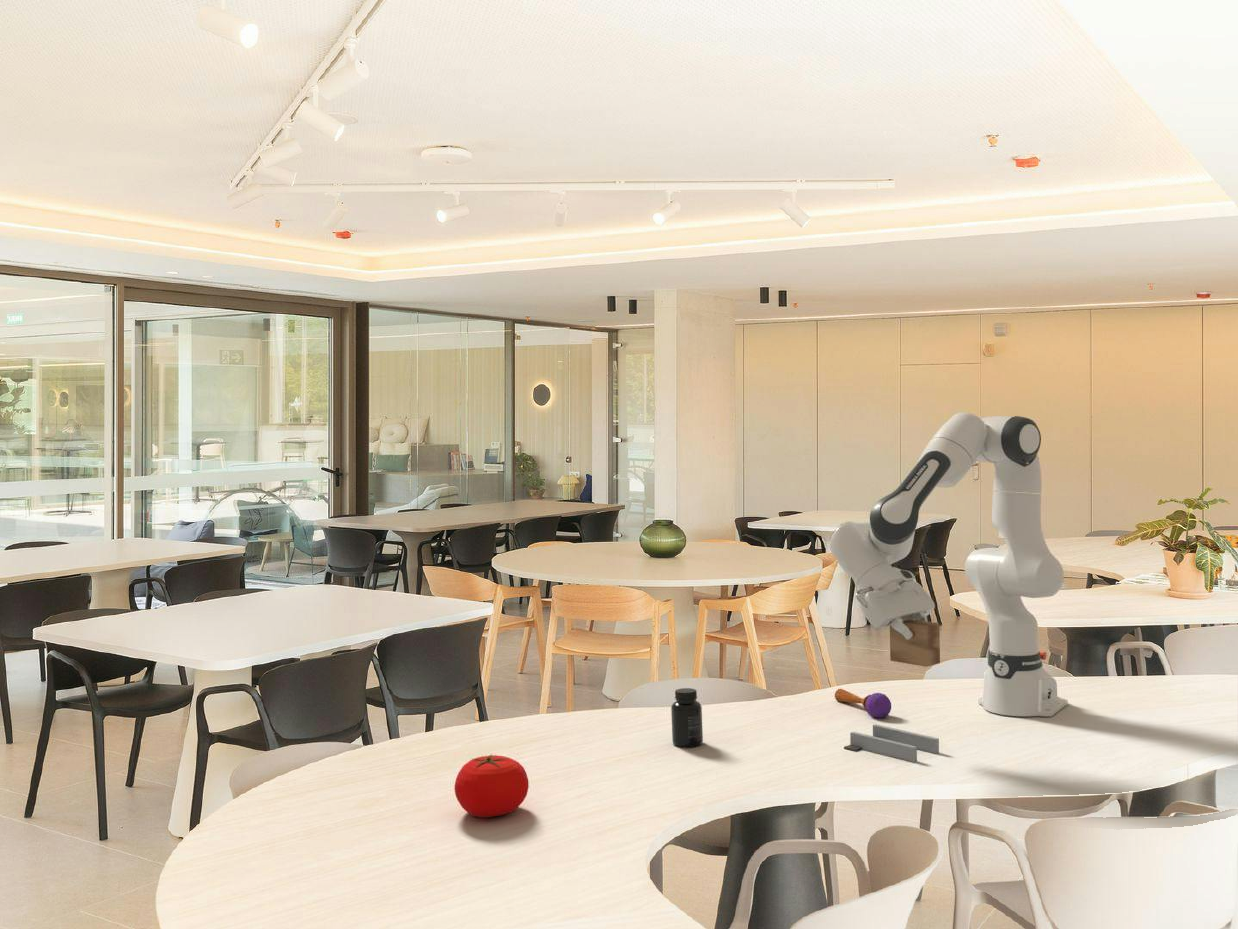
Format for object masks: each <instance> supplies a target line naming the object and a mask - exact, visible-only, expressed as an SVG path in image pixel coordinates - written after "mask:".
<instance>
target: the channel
mask: <svg viewBox="0 0 1238 929" xmlns="http://www.w3.org/2000/svg"><path fill="white" fill-rule="evenodd" d="M849 737H850V738H849V740H850V741H849V742H850V743H849V744H848V745H846V746H843V749H844V750H848V751H852V752H858V751H860V750H864V751H867V752H871V753H874V754H875V753H876V754H879V755H884V756H888V757H891V758H896V759H899V760H904V761H908V762H910V763H911V762H912V763H915V762H918V750H919V751H923V752H928V753H931V754H939V753H940V748H939V747H940V738H938V737H934V736H929V735H924V734H920V733H915V732H911V731H907V730H904V729H903V730H902V729H899V728H893V727H890V726H886V725H882V724H876V723H875V724H873V725H872V735H869V734H865V733H862V732H858V731H851V732H850V733H849Z"/></svg>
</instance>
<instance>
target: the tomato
mask: <svg viewBox="0 0 1238 929" xmlns="http://www.w3.org/2000/svg"><path fill="white" fill-rule="evenodd" d="M453 787H454V795H455V797H456V799H457V801H458V803H459V805H460V806H461V808H462V809H463V810H464V811H465V812H467V813H468V814H469V815H472V816H473V817H474V816H475V817H477V818H478V817H479V818H491V817H492V818H493V817H498V816H499V817H500V816H503V815H507V814H509V813H511V812H513V811H515V810H517V809H518V808H519V807H520V805H521V804H522V803H523V802H524V801H525V799H526V798H527V795H528V792H529V788H530V785H529V777H528V774H527V771H526V770H525V767H524V766H523V765H522V764H521V763H520V762H519V761H517V760H516V759H512V758H510V757H508V756H503V755H495V754H494V755H493V754H490V755H484V756H483V755H482V756H478V757H475V758H471V759H470V760H469V761H467V762H466V763H465V764H464V765H463V766H461V769H460V770H459V771H458V773H457V775H456V778H455V783H454V786H453Z"/></svg>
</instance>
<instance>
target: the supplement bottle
mask: <svg viewBox="0 0 1238 929" xmlns="http://www.w3.org/2000/svg"><path fill="white" fill-rule="evenodd" d="M674 695H675V696H674V699H675V701H674V702H673V703H672V704H671V708H670V709H671V710H670V712H671V735H672V736H671V737H672V744H673V745H674V746H675V745H676V746H675V747H678V746H679V748H695V747H699V746H701V745H702V744H703V742H704V740H703V738H704V737H703V734H704V733H703V732H704V731H703V711H702V710H703V707H702V704H701V702H699V701H697V699H698V695H697V689H695V688H689V687H688V688H687V687H682V688H677V689H676V690H675V691H674Z"/></svg>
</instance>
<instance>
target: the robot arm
mask: <svg viewBox="0 0 1238 929" xmlns="http://www.w3.org/2000/svg"><path fill="white" fill-rule="evenodd" d="M1041 440H1042V435H1041V431H1040V429H1039V427H1038V424H1036V422H1035V421H1034V420H1032V419H1031V418H1028V417H1025V416H1020V415H1016V416H1010V415H1008V416H1007V415H993V416H986V417H979V416H977V415H976V414H973V413H970V412H966V411H965V412H963V411H962V412H958V413H956V414H953V416H951V417H950V418H949V419H948V420H947V421H946V422H944V423H943V424H942V425H941V427H940V428H939V429H938V430H937V431H936V432H935V433H934V435H933V436H932V438H931V439H930V440H929V442H928V443H927V444H926V445H925V447H924V449H923V450H922V453H921V454H920V456H919V458H918V461H917V463H916V465H915V466H914V467H913V468H912V469H911V471H910V472H909V473H908V474H907V476H906V477H905V478H904V479H903V481H902V482H901V483H900V484H899V486H898V487H897V488H896V489H895V490H893V491H892V492H891V493H889V494H888V495H886V496H884V497H882V498H880V499H879V500H878V501H877V502H876V503H875V504H874V505H873V506H872V507H871V509H870V514H869V521H867V522H855V521H851V520H847V521H845V522H842V523H841V524H840V525H839V526H838V527H836V528H835V530H834V531H833V532H832V534H831V536H830V538H829V543H828V544H829V545H828V546H829V549H830V552H831V553H832V555H833V558H835V560H836V561H837V563H838V564H839V566H840V567H841V569H842V570H843V571H844V572H845V574H847V575H848V576H850V577H851V578H852V580H853V583H854V585H855V586H856V588H857V590H856V593H855V598H856V600H857V601H858V605H859V607H860V610H861V612H862V613H863V615H864V616H865V617H866V620H867V621H868V622H869V623H870V625H871V626H873V627H874V628H876V629H881V628H885V627H890V625H891V626H892V627H893V628H894V629H895V630H896V631H898V632H900V633H901V634H903V636H904V637H905V638H906V639H907V640H909V639H912V638H913V637H914V636H915V632H914V631H913V630H912V628H908V627H907V626H906V625H904V624H903V623H902V622H903V621H905V620H909V619H911V620H919V621H926V622H929V621H928V616H929V615H930V614H931V613H932V612H933V610H934V609H935V608H936V604H935V602H934V600H933V599H932V597H931V596H930V595H929V593H928V592H927V591H926V589H924V588H923V586H922V585H921V584H920V583H918V581H915V579H916V576H915V574H913V573H912V572H911V571H910V570H904V569H901V568H898V567H895V566H892V565H893V564H896V563H897V562H900V561H902V560H904V559H905V558H906V557H907V556H909V554H910V552H911V551H912V548H913V544H914V541H915V540H914V539H915V533H916V530H917V529H916V528H917V524H918V521H919V515H920V514H919V513H920V509H921V508H922V506H923V504H924V503H925V502H926V501H927V499H928V498H929V496H931V494H932V492H934V490H935V489H936V487H937V488H942V489H947V488H948V489H949V488H952V487H955V486H956V485H957V484H958V483H959V482H961V481H962V479H963V478H964V477H965V476H966V475H967V474H968V472H969V471H970V470H971V468H972V466H973V465H974V463H975V462H981V463H991V464H992V463H993V466H994V469H995V472H994V476H993V479H994V480H993V486H992V503H991V522H992V525H993V527H994V528H995V529H996V530H997V531H999V532H1000V533H1001V535H1002V536H1003V539H1004V541H1005V544H1006V548H1003V547H1002V548H1001V547H994V546H993V547H985V548H977V549H975V550H973V551H971V552H970V554H969V555H968V556H967V557H966V560H965V563H964V574H965V577H966V580H967V581H968V583H969V584H970V585H972V587H973V588H974V589H975V591H976V592H977V594H978V595H979V597H980V599H981V600H982V603H983V606H984V609H985V612H986V615H987V621H988V632H989V638H988V639H989V649H988V651H987V657H986V658H987V665H988V666H989V667H988V668H987V669H986V670H985V671H984V673H983V681H982V682H983V684H982V686H983V687H982V697H980V698H978V702H977V703H978V704H979V705H981V706H982V708H983V710H986V711H987V712H990V713H993V714H998V715H1002V716H1009V717H1052V716H1054V715H1055V714H1057V713H1058V712H1059V711H1060V710H1062V709H1064V708H1065V707H1066V706H1068V699H1066V698H1064V697H1061V696H1058V684H1057V683H1058V682H1057V680H1056V679H1055V678H1054V677H1053V676H1052V675H1051V674H1050V673H1048V671H1046V670H1045V668H1043V666H1044V665H1043V662H1042V660H1044V661H1045V660H1046V659H1047V657H1048V654H1047V651H1045V650H1044V651H1041V650H1039V628H1038V626H1039V624H1038V621H1037V618H1036V616H1034V615H1033V614H1032V613H1031V611H1029V610H1028V609H1027V607H1026V606H1025V605H1024V602H1023V600H1022V597H1024V598H1030V599H1038V598H1039V599H1042V598H1048V597H1049V598H1050V597H1053V596H1055V595H1056V594H1057V593H1058V592H1059V591H1060V590H1061V588H1062V586H1063V583H1064V579H1065V573H1064V569H1063V566H1062V563H1061V562H1060V561H1059V560H1058V558H1056V557H1055V555H1053V553H1052V551H1050V549H1049V547H1048V546H1047V545H1048V544H1047V542H1046V539H1045V538H1044V535H1043V534H1044V533H1043V529H1042V521H1041V520H1042V517H1041V516H1042V514H1041V513H1042V511H1041V509H1042V487H1043V485H1042V471H1041V464H1040V462H1041V461H1040V458H1039V455H1038V453H1039V450H1040V447H1041V445H1042V444H1041Z"/></svg>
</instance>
